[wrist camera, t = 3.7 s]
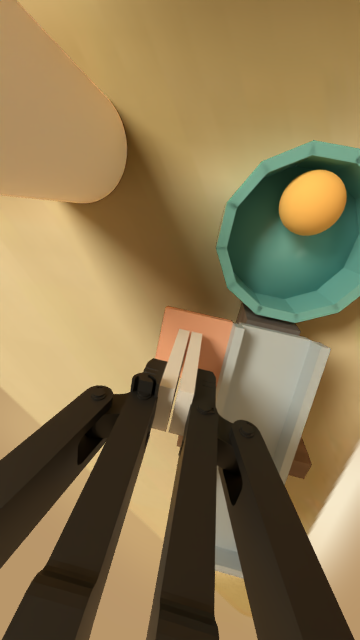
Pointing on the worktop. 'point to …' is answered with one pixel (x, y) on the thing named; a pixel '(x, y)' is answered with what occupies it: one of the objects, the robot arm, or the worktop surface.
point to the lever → (251, 392)
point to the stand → (247, 316)
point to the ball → (312, 202)
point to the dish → (292, 240)
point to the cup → (52, 119)
